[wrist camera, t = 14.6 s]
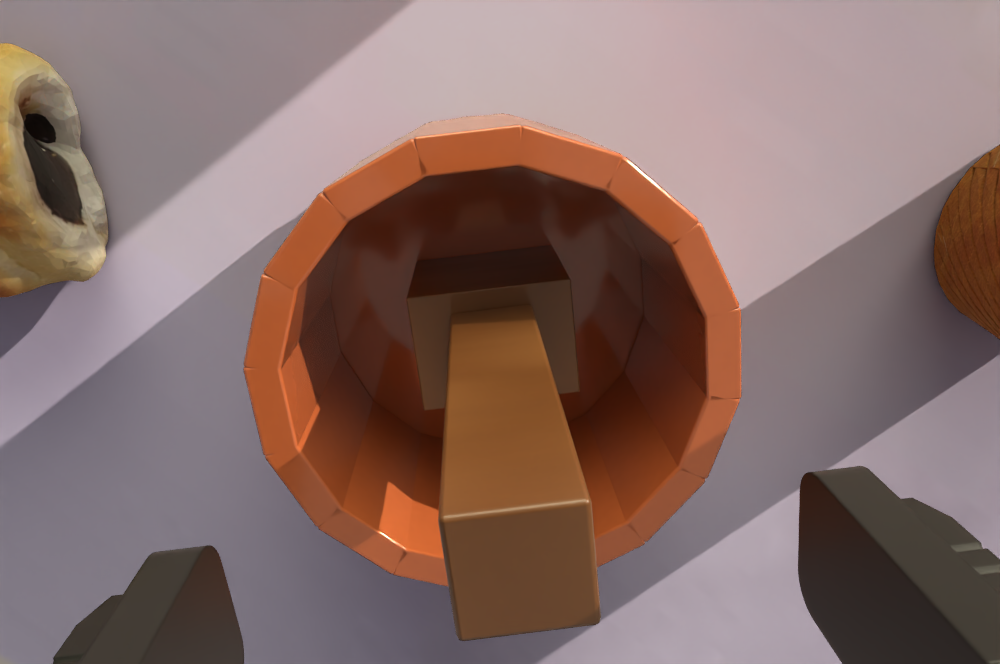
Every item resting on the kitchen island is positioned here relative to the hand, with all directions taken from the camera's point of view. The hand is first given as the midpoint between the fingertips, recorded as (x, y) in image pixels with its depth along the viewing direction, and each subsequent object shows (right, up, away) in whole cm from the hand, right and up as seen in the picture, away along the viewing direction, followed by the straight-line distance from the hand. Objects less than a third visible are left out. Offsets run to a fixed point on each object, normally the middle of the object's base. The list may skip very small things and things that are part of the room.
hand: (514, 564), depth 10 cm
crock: (-1, +4, +13) cm, 13 cm away
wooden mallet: (-1, +4, +12) cm, 13 cm away
